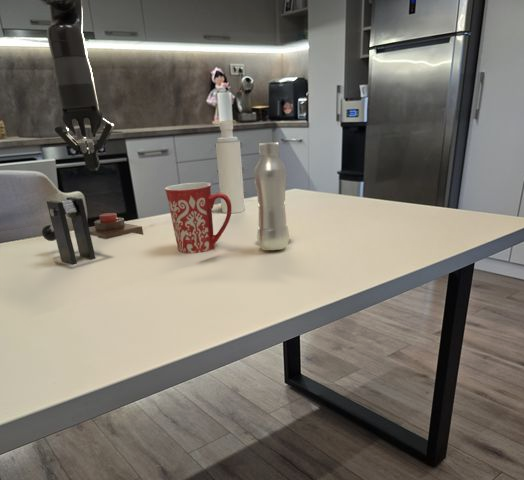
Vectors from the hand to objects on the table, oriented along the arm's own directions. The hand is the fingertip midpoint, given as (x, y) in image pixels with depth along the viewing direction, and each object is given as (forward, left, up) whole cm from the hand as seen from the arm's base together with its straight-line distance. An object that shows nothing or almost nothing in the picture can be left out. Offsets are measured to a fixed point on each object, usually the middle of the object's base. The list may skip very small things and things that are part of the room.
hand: (93, 170), depth 109 cm
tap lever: (+12, -16, -9) cm, 22 cm away
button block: (-1, +2, -16) cm, 16 cm away
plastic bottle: (+42, +13, -16) cm, 47 cm away
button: (-1, +2, -12) cm, 12 cm away
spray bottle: (+4, +39, -16) cm, 42 cm away
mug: (+32, +3, -16) cm, 36 cm away
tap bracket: (+16, -16, -16) cm, 28 cm away
